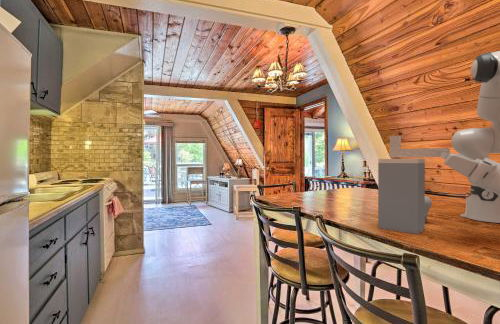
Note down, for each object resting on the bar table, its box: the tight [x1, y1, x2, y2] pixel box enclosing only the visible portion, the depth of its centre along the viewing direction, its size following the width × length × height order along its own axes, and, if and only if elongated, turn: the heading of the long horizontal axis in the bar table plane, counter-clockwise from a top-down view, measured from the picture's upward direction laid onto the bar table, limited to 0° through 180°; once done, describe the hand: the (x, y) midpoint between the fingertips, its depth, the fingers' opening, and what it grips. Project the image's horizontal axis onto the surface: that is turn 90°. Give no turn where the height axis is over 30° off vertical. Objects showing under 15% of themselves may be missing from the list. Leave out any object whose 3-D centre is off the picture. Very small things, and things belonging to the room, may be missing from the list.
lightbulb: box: [425, 195, 433, 222], centre depth 112 cm, size 6×6×11 cm
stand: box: [377, 158, 426, 235], centre depth 102 cm, size 10×13×26 cm
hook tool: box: [389, 135, 451, 158], centre depth 98 cm, size 3×18×8 cm, turn 46°
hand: (437, 151), depth 94 cm, fingers closed on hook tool, 3 cm apart
